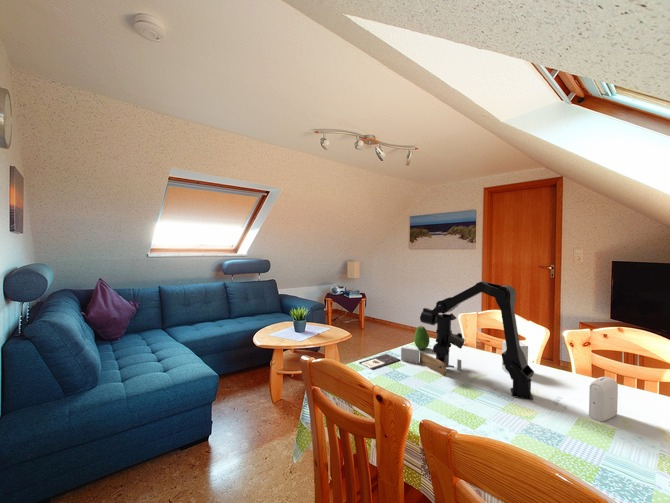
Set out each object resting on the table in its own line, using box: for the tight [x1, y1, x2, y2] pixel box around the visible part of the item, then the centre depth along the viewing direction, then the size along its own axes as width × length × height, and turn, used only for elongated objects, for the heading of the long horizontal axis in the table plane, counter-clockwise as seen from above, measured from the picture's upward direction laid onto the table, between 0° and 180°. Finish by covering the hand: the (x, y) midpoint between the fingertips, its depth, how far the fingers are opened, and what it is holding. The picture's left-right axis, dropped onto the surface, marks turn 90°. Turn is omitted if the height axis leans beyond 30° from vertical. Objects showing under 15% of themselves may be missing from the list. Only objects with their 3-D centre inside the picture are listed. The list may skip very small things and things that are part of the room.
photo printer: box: [588, 376, 619, 422], centre depth 99 cm, size 10×4×12 cm, turn 116°
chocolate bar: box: [358, 353, 401, 371], centre depth 143 cm, size 9×1×18 cm
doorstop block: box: [435, 353, 450, 369], centre depth 135 cm, size 4×5×6 cm
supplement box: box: [501, 340, 529, 375], centre depth 132 cm, size 7×7×13 cm
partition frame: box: [400, 346, 462, 371], centre depth 140 cm, size 2×26×6 cm, turn 66°
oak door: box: [419, 350, 447, 376], centre depth 135 cm, size 2×15×5 cm, turn 25°
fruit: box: [413, 325, 430, 350], centre depth 161 cm, size 8×8×12 cm
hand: (442, 362), depth 135 cm, fingers closed on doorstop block, 4 cm apart
